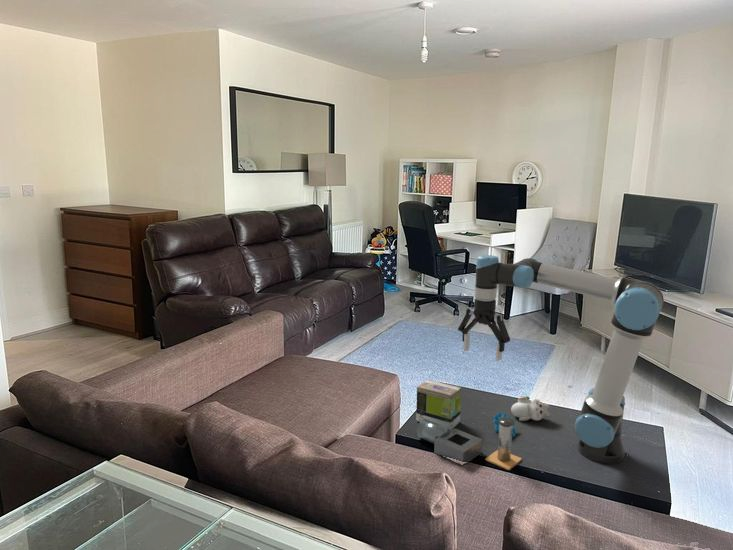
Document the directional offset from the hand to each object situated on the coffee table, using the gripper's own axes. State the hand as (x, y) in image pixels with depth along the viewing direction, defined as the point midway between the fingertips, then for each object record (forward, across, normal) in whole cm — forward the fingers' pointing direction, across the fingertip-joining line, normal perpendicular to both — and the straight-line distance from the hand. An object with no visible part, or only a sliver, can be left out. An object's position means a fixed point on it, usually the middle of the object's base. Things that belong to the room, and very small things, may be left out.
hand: (482, 355), depth 193 cm
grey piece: (+32, +3, +16) cm, 36 cm away
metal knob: (+31, -16, +9) cm, 36 cm away
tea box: (+32, +17, +2) cm, 36 cm away
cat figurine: (+32, -8, -26) cm, 42 cm away
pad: (+32, -16, +9) cm, 37 cm away
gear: (+32, -7, -7) cm, 34 cm away
